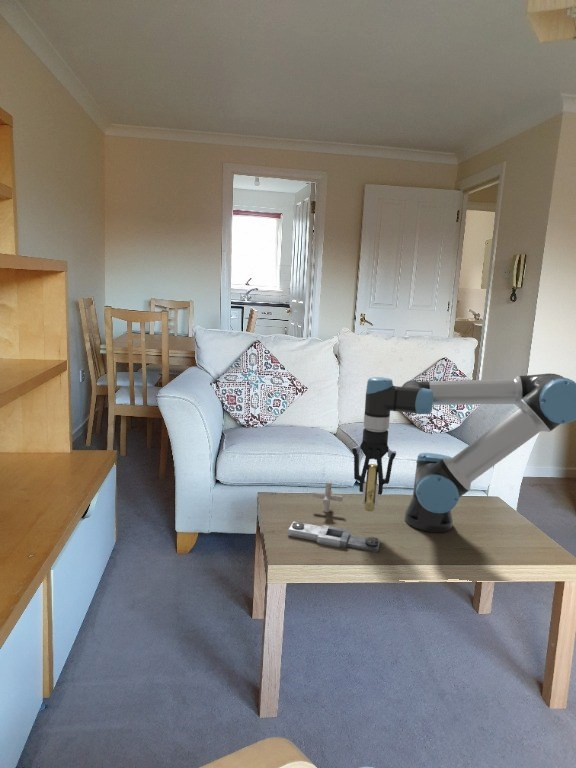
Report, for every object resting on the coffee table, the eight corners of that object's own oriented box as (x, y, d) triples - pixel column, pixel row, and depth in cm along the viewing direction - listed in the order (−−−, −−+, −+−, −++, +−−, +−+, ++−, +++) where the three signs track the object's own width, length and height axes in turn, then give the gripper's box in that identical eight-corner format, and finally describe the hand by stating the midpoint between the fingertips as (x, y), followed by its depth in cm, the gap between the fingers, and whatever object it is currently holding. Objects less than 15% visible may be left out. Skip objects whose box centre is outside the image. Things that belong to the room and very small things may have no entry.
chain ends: (380, 541, 156) (381, 533, 156) (377, 554, 148) (378, 545, 148) (293, 526, 163) (294, 518, 162) (286, 537, 155) (287, 528, 154)
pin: (375, 508, 164) (378, 464, 162) (374, 512, 161) (377, 467, 159) (364, 506, 165) (368, 463, 163) (363, 510, 162) (367, 466, 160)
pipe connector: (339, 519, 170) (342, 489, 169) (309, 514, 172) (311, 485, 171) (342, 507, 180) (345, 479, 178) (313, 503, 182) (316, 475, 180)
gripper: (403, 429, 161) (397, 502, 164) (350, 423, 165) (345, 495, 168) (402, 434, 153) (395, 511, 157) (347, 428, 157) (341, 503, 161)
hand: (369, 502), depth 163 cm, fingers closed on pin, 3 cm apart
